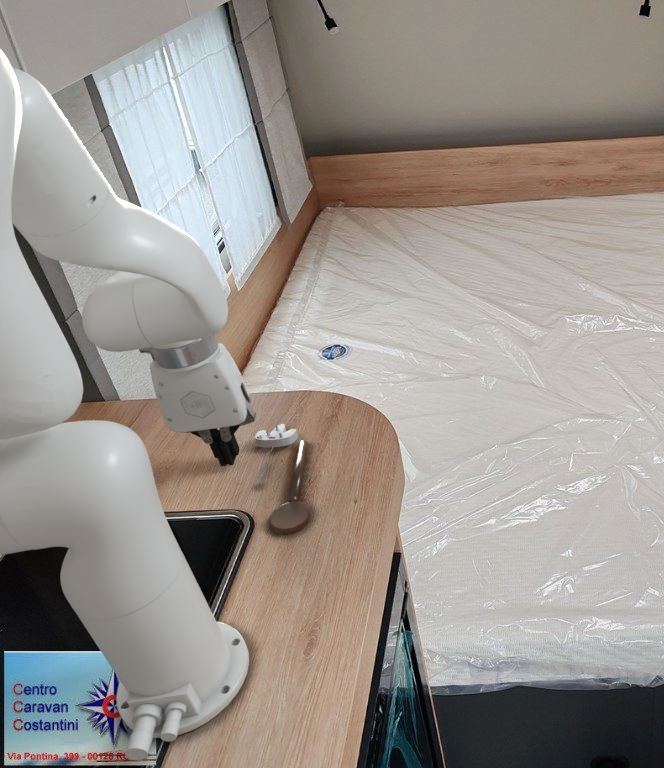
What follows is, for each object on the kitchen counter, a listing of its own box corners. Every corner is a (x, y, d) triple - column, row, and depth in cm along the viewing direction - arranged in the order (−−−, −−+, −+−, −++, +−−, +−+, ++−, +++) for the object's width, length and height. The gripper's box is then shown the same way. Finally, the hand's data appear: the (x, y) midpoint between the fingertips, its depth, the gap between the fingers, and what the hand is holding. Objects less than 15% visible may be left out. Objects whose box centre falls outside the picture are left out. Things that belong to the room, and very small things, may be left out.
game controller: (298, 426, 109) (293, 412, 108) (302, 477, 100) (297, 462, 99) (258, 436, 108) (253, 421, 107) (258, 487, 99) (253, 473, 98)
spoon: (309, 531, 92) (306, 523, 91) (269, 537, 92) (266, 529, 91) (322, 443, 106) (319, 435, 105) (287, 448, 106) (285, 440, 105)
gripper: (113, 370, 90) (167, 485, 100) (239, 354, 90) (280, 469, 100) (133, 338, 96) (182, 449, 106) (251, 323, 96) (288, 435, 107)
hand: (229, 459), depth 103 cm, fingers closed
